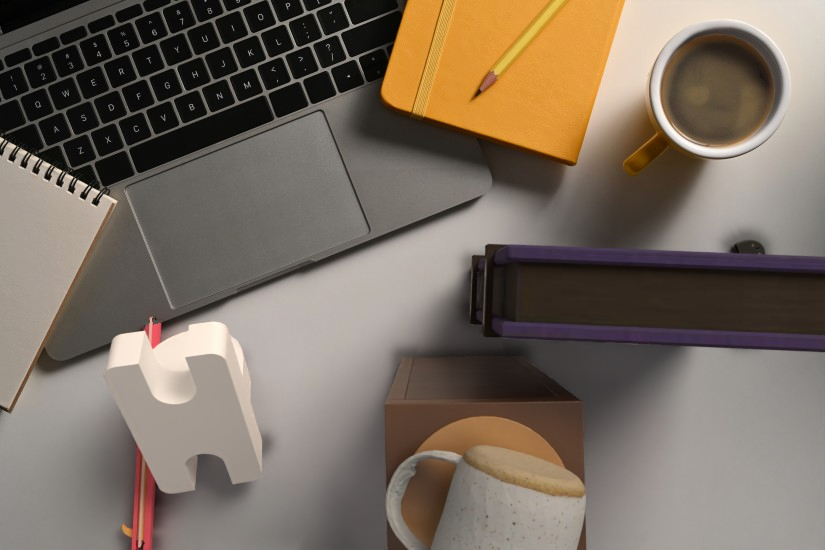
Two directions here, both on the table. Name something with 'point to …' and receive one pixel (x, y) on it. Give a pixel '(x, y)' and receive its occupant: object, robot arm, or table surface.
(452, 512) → the ceramic mug
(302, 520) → the table surface
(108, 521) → the table surface
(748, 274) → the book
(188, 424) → the white slotted bracket
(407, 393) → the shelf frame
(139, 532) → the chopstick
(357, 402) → the table surface
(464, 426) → the brown square coaster
